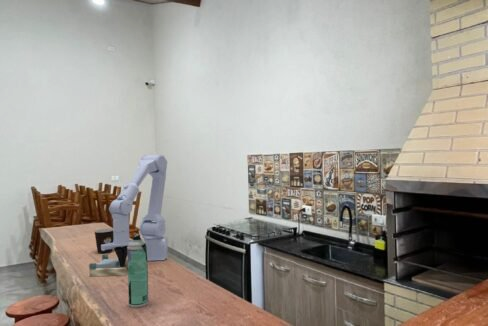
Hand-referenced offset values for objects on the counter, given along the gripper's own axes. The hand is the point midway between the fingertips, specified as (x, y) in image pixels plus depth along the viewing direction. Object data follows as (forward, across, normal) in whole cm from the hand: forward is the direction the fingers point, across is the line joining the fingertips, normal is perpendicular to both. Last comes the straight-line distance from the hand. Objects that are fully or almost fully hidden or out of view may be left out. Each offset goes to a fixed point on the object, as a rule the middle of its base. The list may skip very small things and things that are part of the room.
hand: (122, 266), depth 135 cm
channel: (+1, +3, -2) cm, 3 cm away
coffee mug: (+2, -2, -33) cm, 33 cm away
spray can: (+2, +4, +36) cm, 36 cm away
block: (+2, +4, -3) cm, 5 cm away
